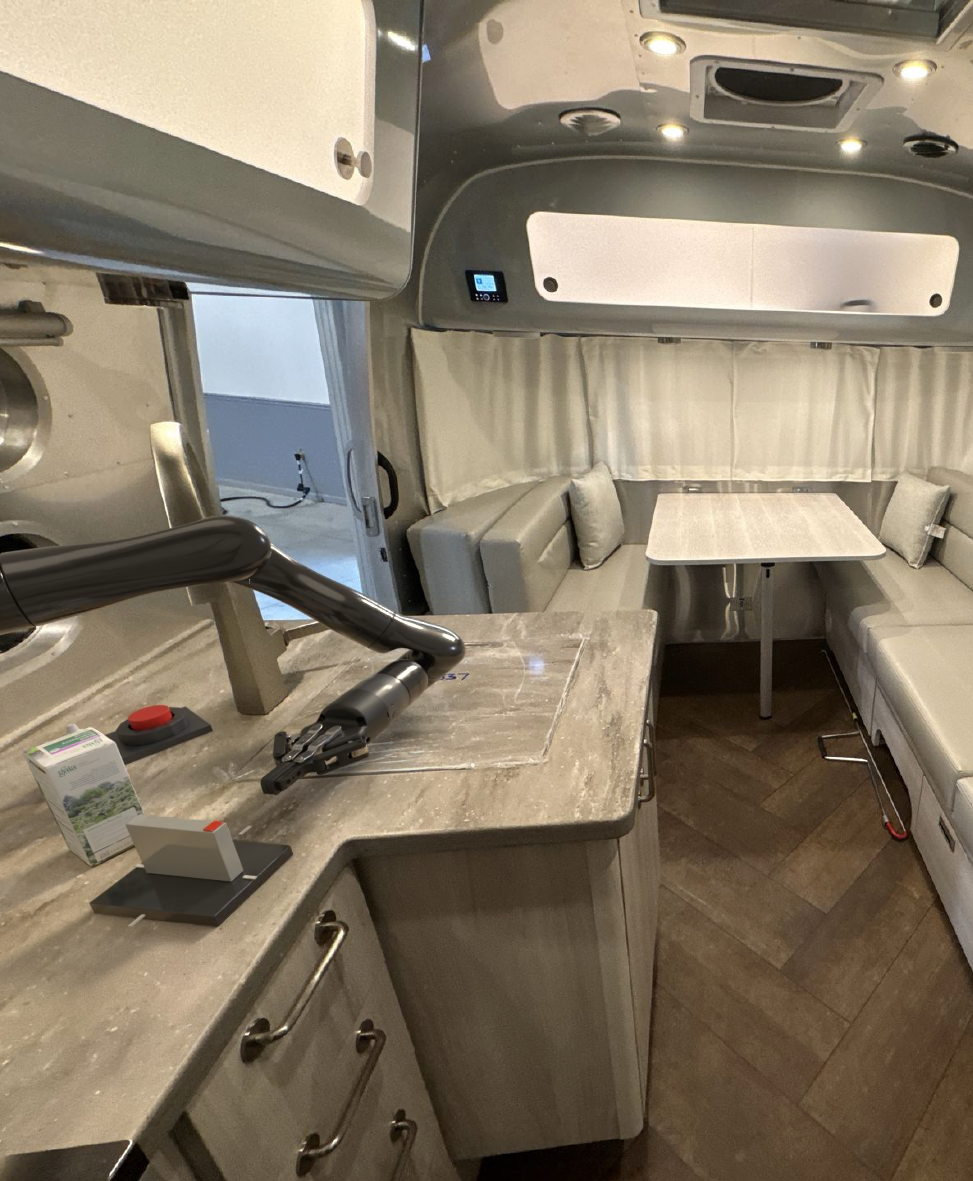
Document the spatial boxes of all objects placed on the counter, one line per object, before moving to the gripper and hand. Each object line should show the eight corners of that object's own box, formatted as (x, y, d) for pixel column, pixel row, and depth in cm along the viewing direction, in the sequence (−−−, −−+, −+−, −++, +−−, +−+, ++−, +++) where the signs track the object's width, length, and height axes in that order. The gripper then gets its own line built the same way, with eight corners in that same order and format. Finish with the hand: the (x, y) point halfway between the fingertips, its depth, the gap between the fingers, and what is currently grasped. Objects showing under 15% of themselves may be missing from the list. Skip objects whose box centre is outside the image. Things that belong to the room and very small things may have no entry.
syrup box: (132, 820, 79) (90, 723, 74) (156, 837, 77) (114, 738, 71) (69, 850, 74) (18, 749, 69) (92, 869, 72) (42, 766, 67)
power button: (138, 735, 91) (134, 724, 90) (126, 724, 93) (122, 714, 92) (177, 720, 94) (174, 710, 94) (165, 711, 96) (161, 701, 96)
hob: (70, 930, 65) (64, 918, 64) (199, 830, 78) (195, 820, 78) (200, 944, 64) (195, 933, 64) (308, 841, 78) (305, 831, 77)
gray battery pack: (146, 873, 70) (123, 822, 67) (160, 862, 72) (139, 812, 69) (231, 882, 70) (212, 831, 67) (244, 870, 71) (225, 820, 68)
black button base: (124, 765, 88) (117, 748, 87) (101, 743, 92) (93, 726, 91) (213, 731, 96) (207, 714, 95) (187, 712, 100) (181, 696, 99)
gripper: (317, 683, 91) (206, 758, 75) (405, 691, 90) (312, 768, 74) (329, 727, 94) (224, 808, 78) (414, 735, 93) (327, 818, 77)
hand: (267, 788), depth 76 cm, fingers closed
